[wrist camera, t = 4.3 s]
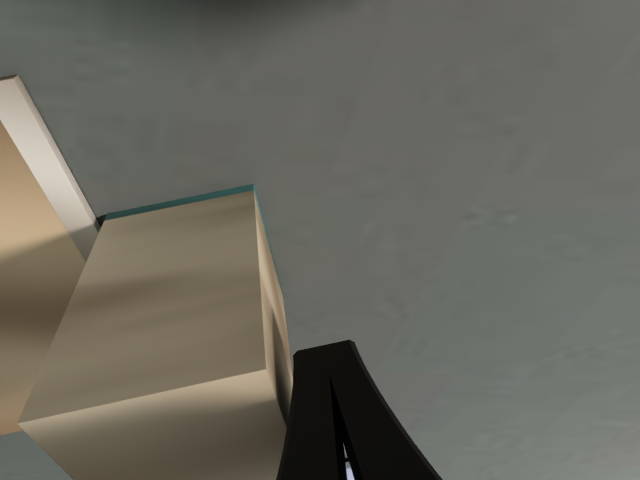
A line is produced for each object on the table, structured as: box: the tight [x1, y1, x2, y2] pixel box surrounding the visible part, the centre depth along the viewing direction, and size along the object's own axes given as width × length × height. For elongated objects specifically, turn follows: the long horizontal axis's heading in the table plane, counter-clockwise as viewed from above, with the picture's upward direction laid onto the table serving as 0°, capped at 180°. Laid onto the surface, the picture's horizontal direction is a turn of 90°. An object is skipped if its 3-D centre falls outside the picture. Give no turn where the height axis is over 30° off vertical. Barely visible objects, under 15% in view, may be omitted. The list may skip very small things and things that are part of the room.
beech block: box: [17, 184, 293, 480], centre depth 12 cm, size 4×4×7 cm
